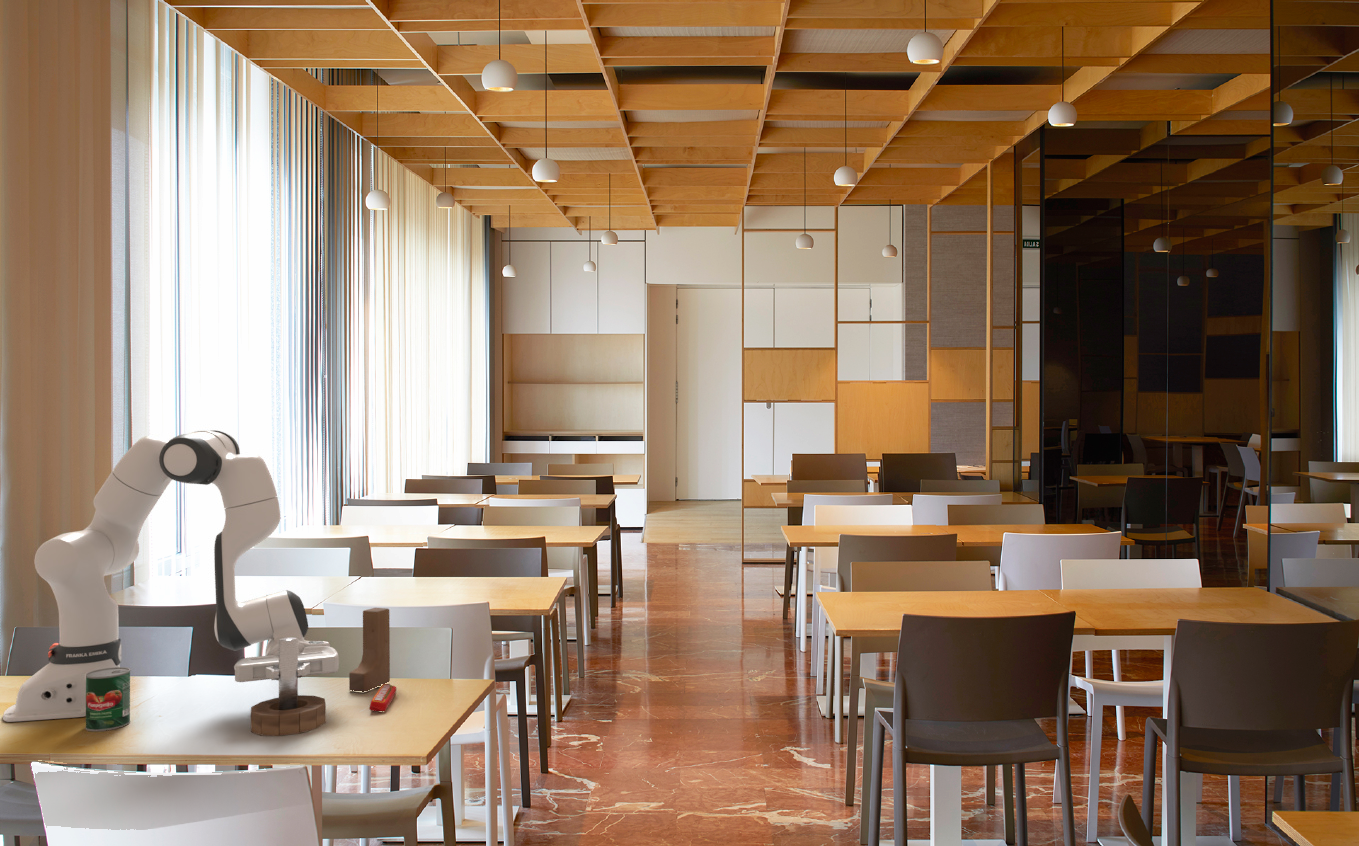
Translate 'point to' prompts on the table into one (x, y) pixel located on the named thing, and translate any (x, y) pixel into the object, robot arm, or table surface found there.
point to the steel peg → (288, 673)
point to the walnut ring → (288, 716)
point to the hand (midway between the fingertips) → (288, 674)
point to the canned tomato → (107, 699)
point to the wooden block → (373, 652)
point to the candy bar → (383, 698)
